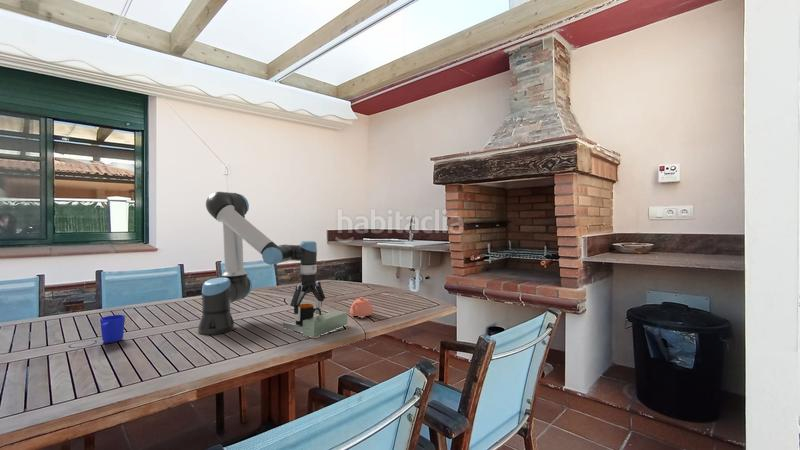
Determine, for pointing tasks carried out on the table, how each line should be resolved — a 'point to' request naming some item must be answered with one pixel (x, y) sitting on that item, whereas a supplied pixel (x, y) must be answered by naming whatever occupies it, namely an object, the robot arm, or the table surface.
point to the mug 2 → (306, 312)
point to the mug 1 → (112, 328)
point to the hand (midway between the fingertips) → (308, 317)
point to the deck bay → (319, 323)
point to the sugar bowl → (361, 307)
